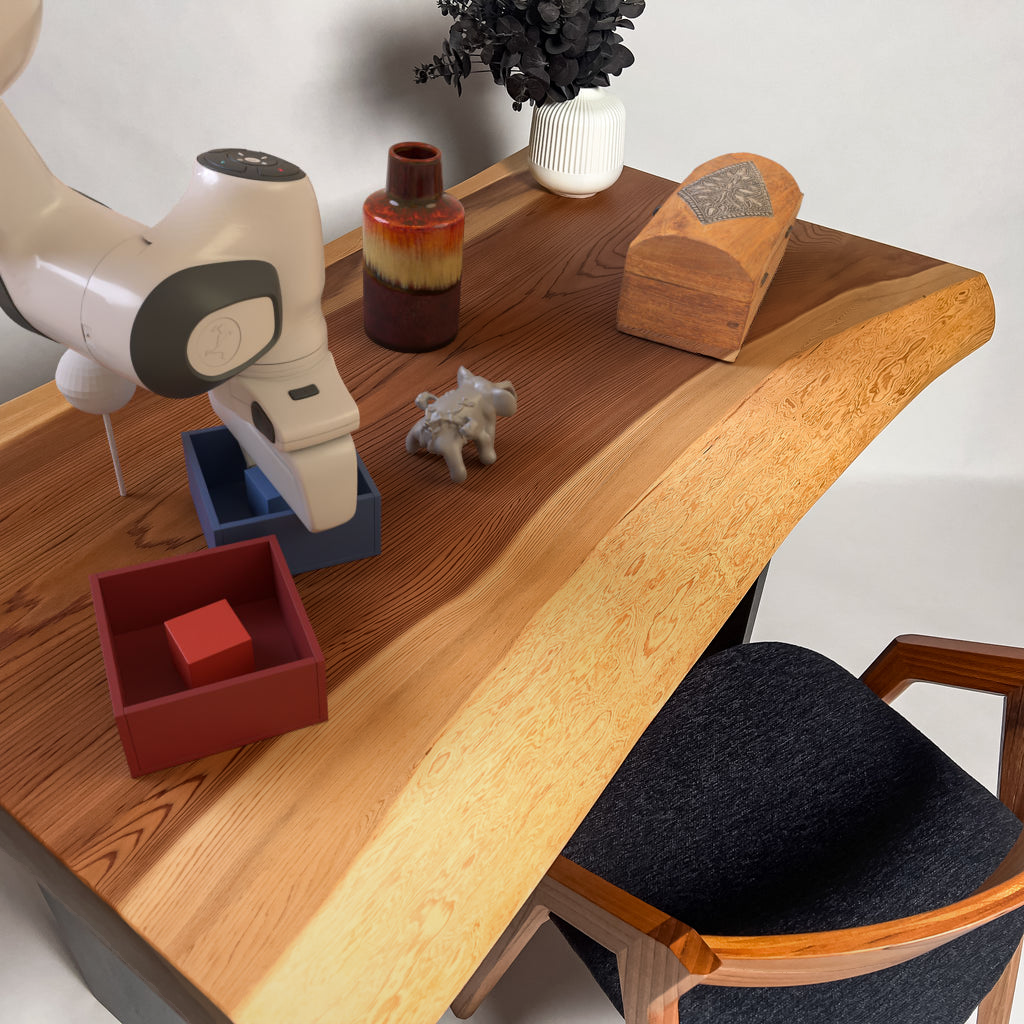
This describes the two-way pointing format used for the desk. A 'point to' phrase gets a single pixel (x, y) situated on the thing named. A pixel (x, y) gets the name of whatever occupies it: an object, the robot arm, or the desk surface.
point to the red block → (209, 645)
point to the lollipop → (94, 393)
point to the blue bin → (229, 521)
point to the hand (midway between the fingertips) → (281, 505)
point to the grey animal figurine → (462, 420)
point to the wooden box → (710, 253)
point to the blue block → (262, 494)
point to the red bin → (219, 706)
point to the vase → (412, 254)
